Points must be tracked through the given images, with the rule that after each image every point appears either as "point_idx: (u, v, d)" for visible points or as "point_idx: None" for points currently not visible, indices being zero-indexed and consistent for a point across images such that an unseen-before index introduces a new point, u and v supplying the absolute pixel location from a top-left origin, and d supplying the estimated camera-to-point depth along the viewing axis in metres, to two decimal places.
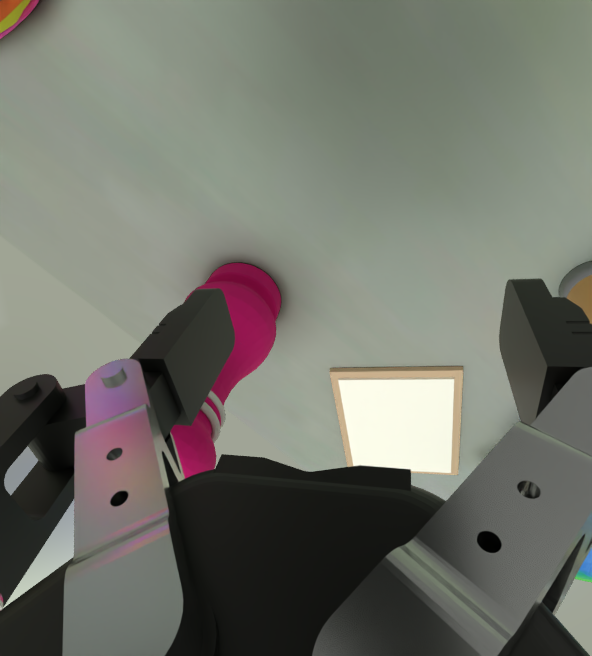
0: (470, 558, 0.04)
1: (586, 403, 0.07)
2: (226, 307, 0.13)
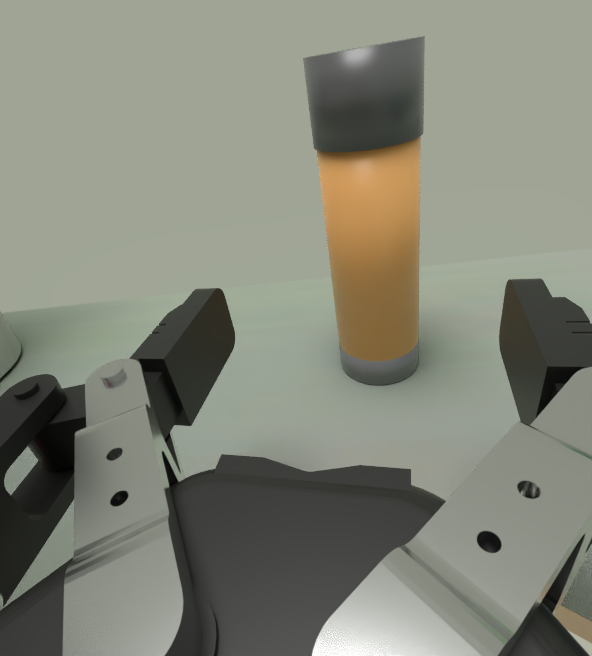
0: (470, 558, 0.04)
1: (586, 403, 0.07)
2: (226, 307, 0.13)
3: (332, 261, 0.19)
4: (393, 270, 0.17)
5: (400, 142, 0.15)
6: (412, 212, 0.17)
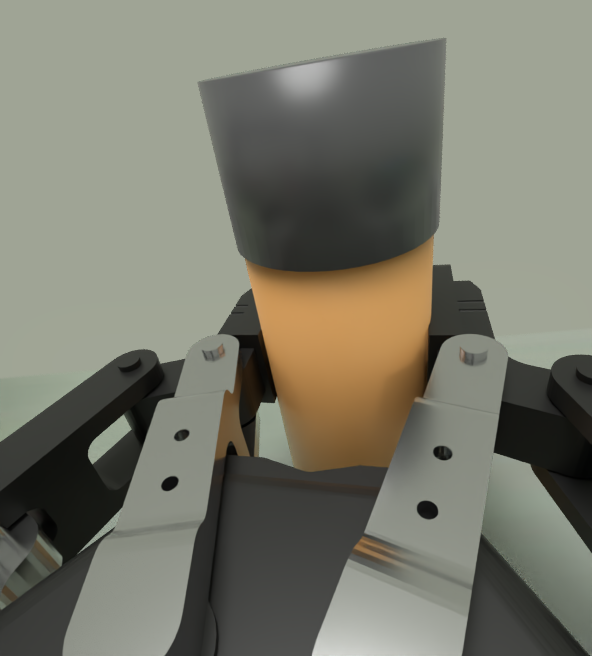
0: (417, 530, 0.05)
1: (457, 368, 0.08)
2: None
3: (282, 415, 0.11)
4: (384, 450, 0.10)
5: (394, 253, 0.07)
6: (416, 360, 0.09)
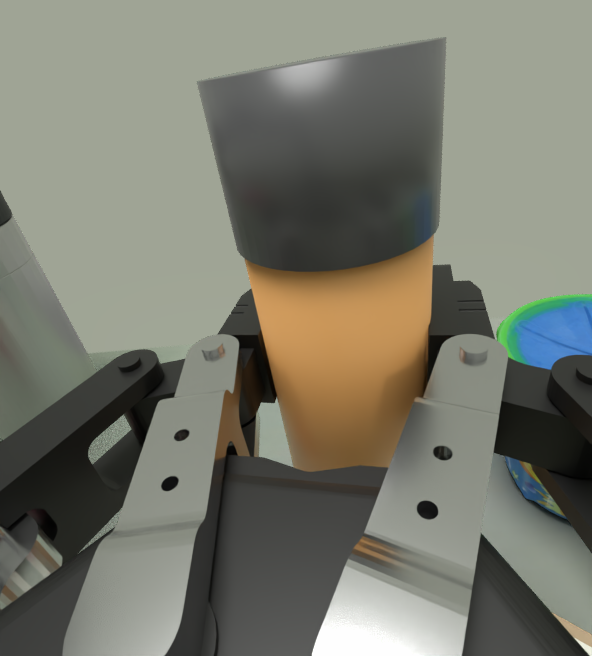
0: (417, 530, 0.05)
1: (457, 368, 0.08)
2: None
3: (282, 415, 0.11)
4: (383, 450, 0.10)
5: (394, 253, 0.07)
6: (416, 360, 0.09)
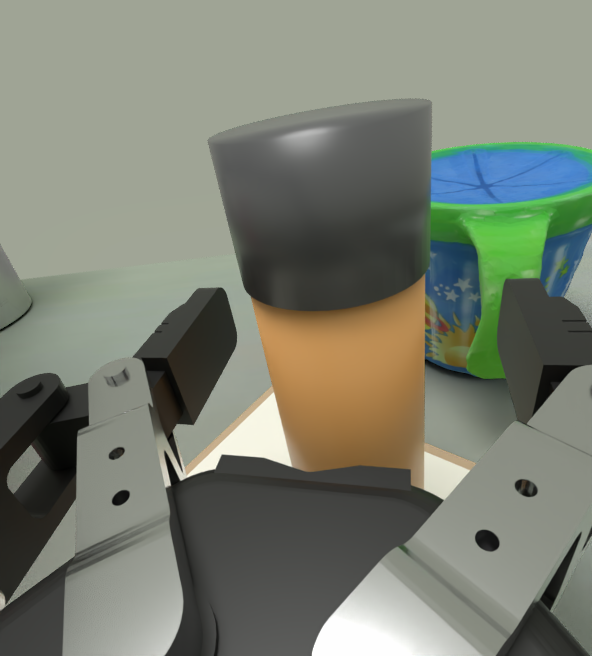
0: (468, 557, 0.04)
1: (581, 401, 0.07)
2: (228, 306, 0.13)
3: (285, 437, 0.12)
4: None
5: (388, 294, 0.08)
6: (411, 387, 0.10)
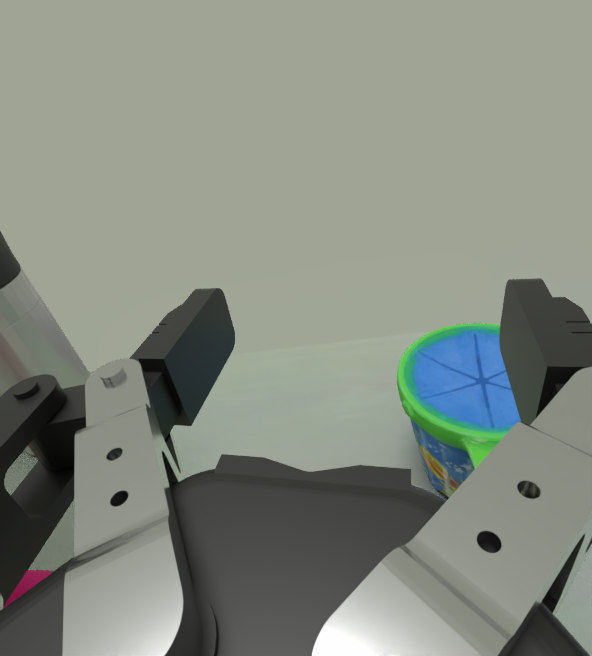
0: (470, 558, 0.04)
1: (586, 403, 0.07)
2: (226, 307, 0.13)
3: None
4: None
5: None
6: None
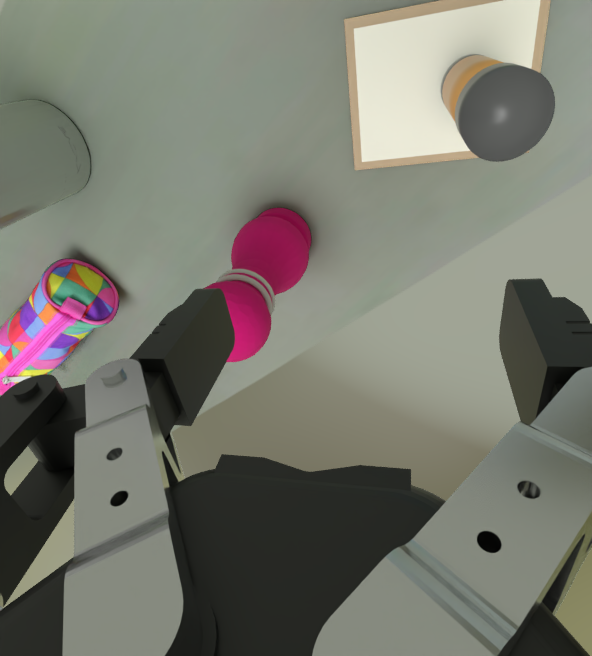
0: (470, 558, 0.04)
1: (586, 403, 0.07)
2: (226, 307, 0.13)
3: None
4: None
5: None
6: None
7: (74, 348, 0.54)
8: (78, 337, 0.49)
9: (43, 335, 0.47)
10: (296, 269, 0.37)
